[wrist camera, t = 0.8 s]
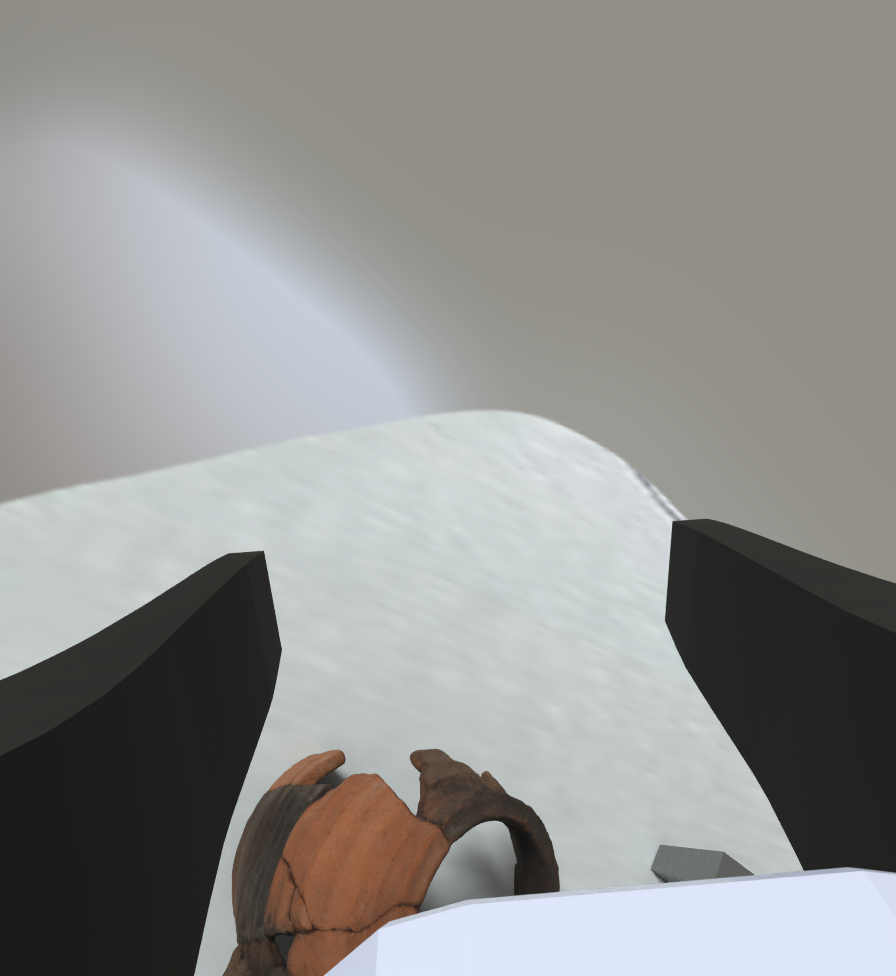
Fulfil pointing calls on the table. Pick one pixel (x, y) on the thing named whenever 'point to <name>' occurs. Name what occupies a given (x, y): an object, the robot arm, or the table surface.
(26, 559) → the table surface
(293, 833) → the pottery mug
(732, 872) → the chute bracket
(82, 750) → the robot arm
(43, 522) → the table surface
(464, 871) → the table surface
